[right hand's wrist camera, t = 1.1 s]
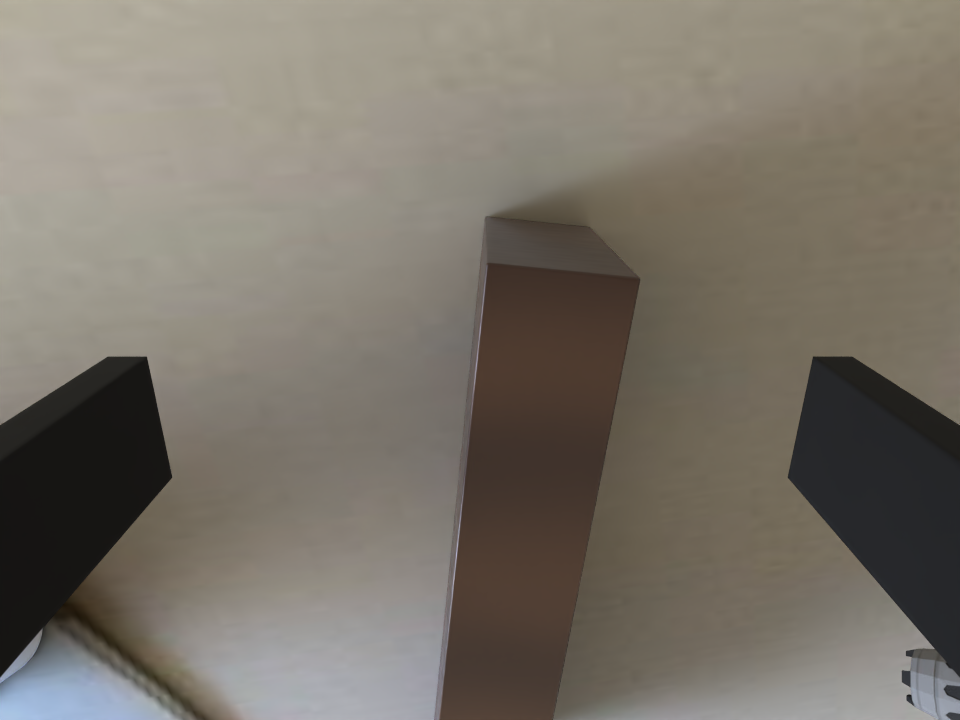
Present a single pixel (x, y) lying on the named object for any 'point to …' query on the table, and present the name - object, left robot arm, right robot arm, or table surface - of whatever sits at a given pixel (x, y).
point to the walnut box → (530, 462)
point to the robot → (933, 684)
